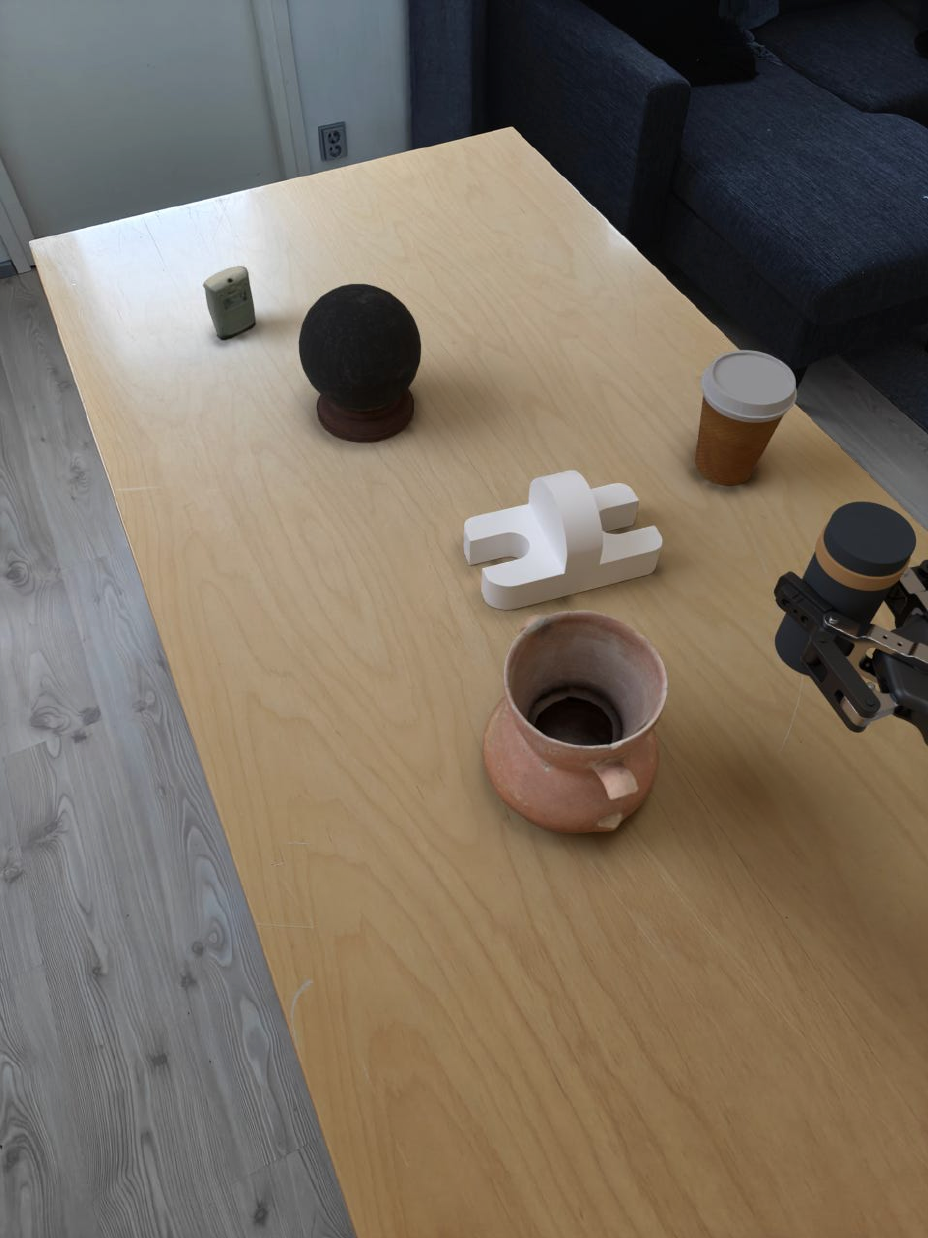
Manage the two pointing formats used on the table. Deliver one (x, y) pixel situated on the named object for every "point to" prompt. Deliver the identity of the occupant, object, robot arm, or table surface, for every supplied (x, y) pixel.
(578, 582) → the u-slot mount
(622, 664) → the ceramic jug
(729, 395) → the disposable coffee cup
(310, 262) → the table surface
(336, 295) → the ball on stand
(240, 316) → the grey rounded block
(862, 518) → the dark cylindrical canister
